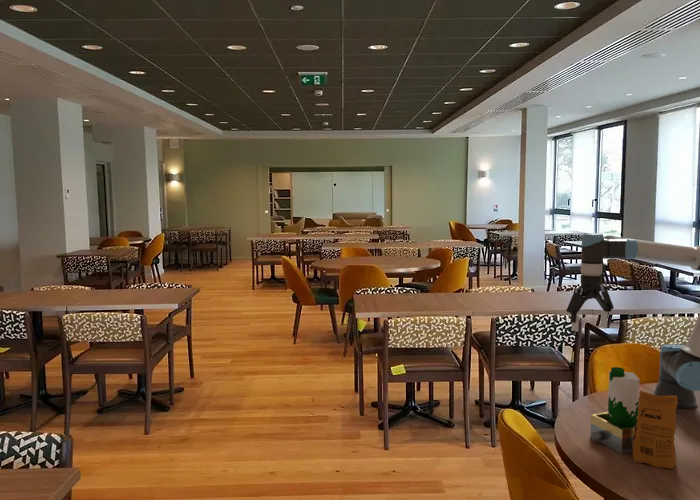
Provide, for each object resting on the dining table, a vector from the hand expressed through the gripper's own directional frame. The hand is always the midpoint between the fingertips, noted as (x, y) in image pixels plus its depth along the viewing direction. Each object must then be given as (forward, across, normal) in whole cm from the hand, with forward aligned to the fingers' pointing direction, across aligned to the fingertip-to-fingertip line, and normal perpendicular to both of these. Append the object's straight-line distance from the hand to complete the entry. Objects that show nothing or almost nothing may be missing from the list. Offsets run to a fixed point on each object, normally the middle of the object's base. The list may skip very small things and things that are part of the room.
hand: (589, 329), depth 228 cm
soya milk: (+27, +10, +28) cm, 40 cm away
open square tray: (+32, +11, +28) cm, 44 cm away
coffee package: (+32, +11, +42) cm, 54 cm away
